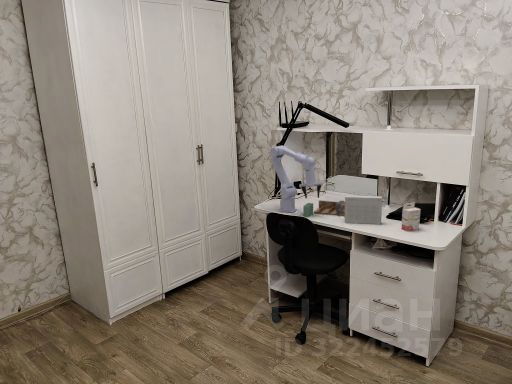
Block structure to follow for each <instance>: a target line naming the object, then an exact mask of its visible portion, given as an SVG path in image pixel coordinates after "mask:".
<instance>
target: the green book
mask: <svg viewBox="0 0 512 384" xmlns="http://www.w3.org/2000/svg"><path fill="white" fill-rule="evenodd" d="M302 210H303V214H302V215H303V216H304V218H309V217H311V216H312V215H313V214H314V203H313V202H307V203H305V204H304V205H303V209H302Z"/></svg>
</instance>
